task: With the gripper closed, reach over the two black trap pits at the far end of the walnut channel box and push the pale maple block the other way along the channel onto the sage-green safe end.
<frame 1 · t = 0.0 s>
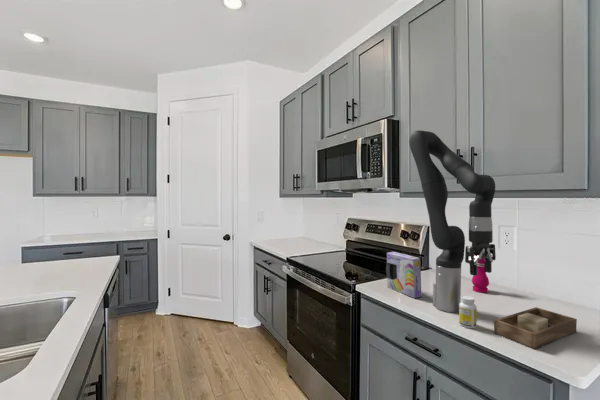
hand: (480, 273, 113), 17 cm above the worktop, tool pointing down, fingers open, 8 cm apart
supplement bottle: (467, 325, 109), on the worktop
pepper mill: (480, 291, 148), on the worktop
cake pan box: (402, 292, 146), on the worktop
trap box: (535, 332, 104), on the worktop
block: (532, 328, 103), point 2 cm above the worktop, touching trap box
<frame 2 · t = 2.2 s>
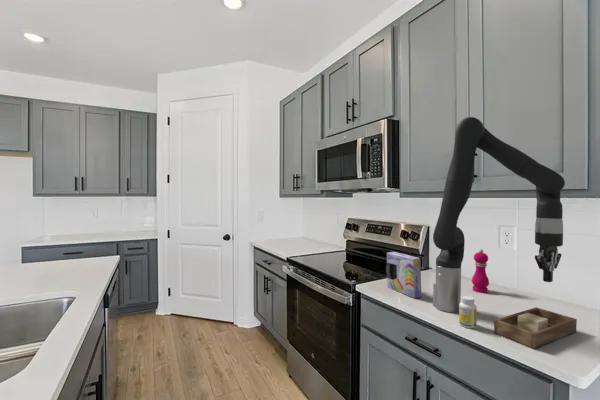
hand: (547, 281, 107), 16 cm above the worktop, tool pointing down, fingers closed
nothing on the worktop moved.
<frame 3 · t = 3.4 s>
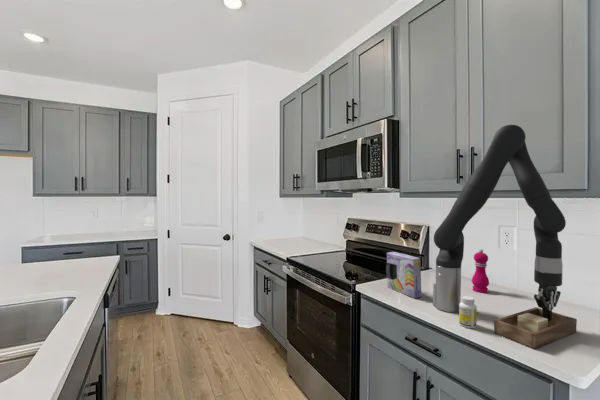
hand: (546, 319, 107), 3 cm above the worktop, tool pointing down, fingers closed
nothing on the worktop moved.
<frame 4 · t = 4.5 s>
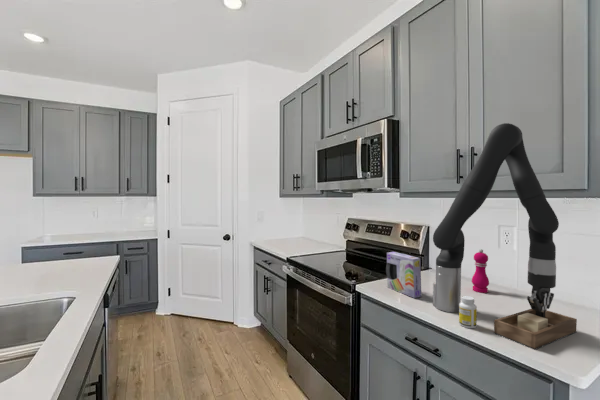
hand: (540, 322, 105), 3 cm above the worktop, tool pointing down, fingers closed
block: (532, 328, 103), point 2 cm above the worktop, touching gripper, trap box
everything else where it was.
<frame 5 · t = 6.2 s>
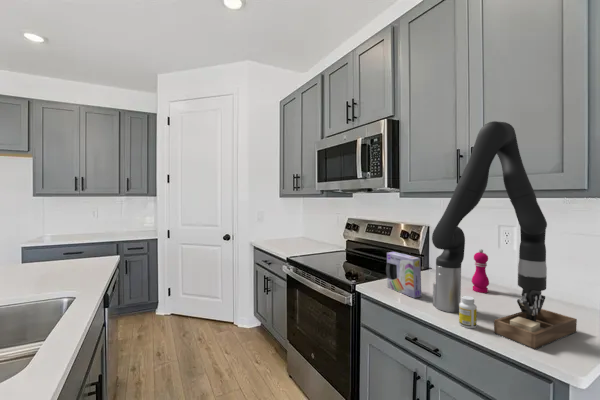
hand: (530, 325, 102), 3 cm above the worktop, tool pointing down, fingers closed
block: (524, 332, 99), point 2 cm above the worktop, touching gripper, trap box
everything else where it was.
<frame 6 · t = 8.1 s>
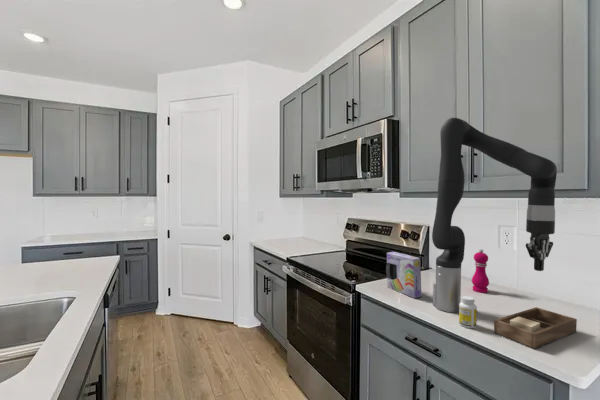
hand: (538, 270, 104), 21 cm above the worktop, tool pointing down, fingers closed
block: (524, 332, 99), point 2 cm above the worktop, touching trap box
everything else where it was.
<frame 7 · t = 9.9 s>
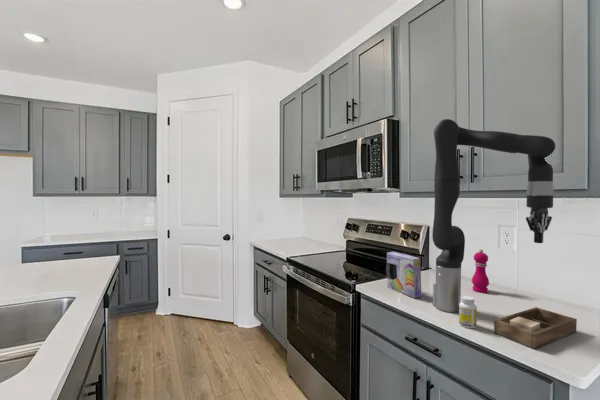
hand: (538, 242, 111), 29 cm above the worktop, tool pointing down, fingers closed
nothing on the worktop moved.
at the end: block 0.8 cm from the target spot on the trap box, point 2.0 cm above the trap box's base; block tilted 0° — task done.
